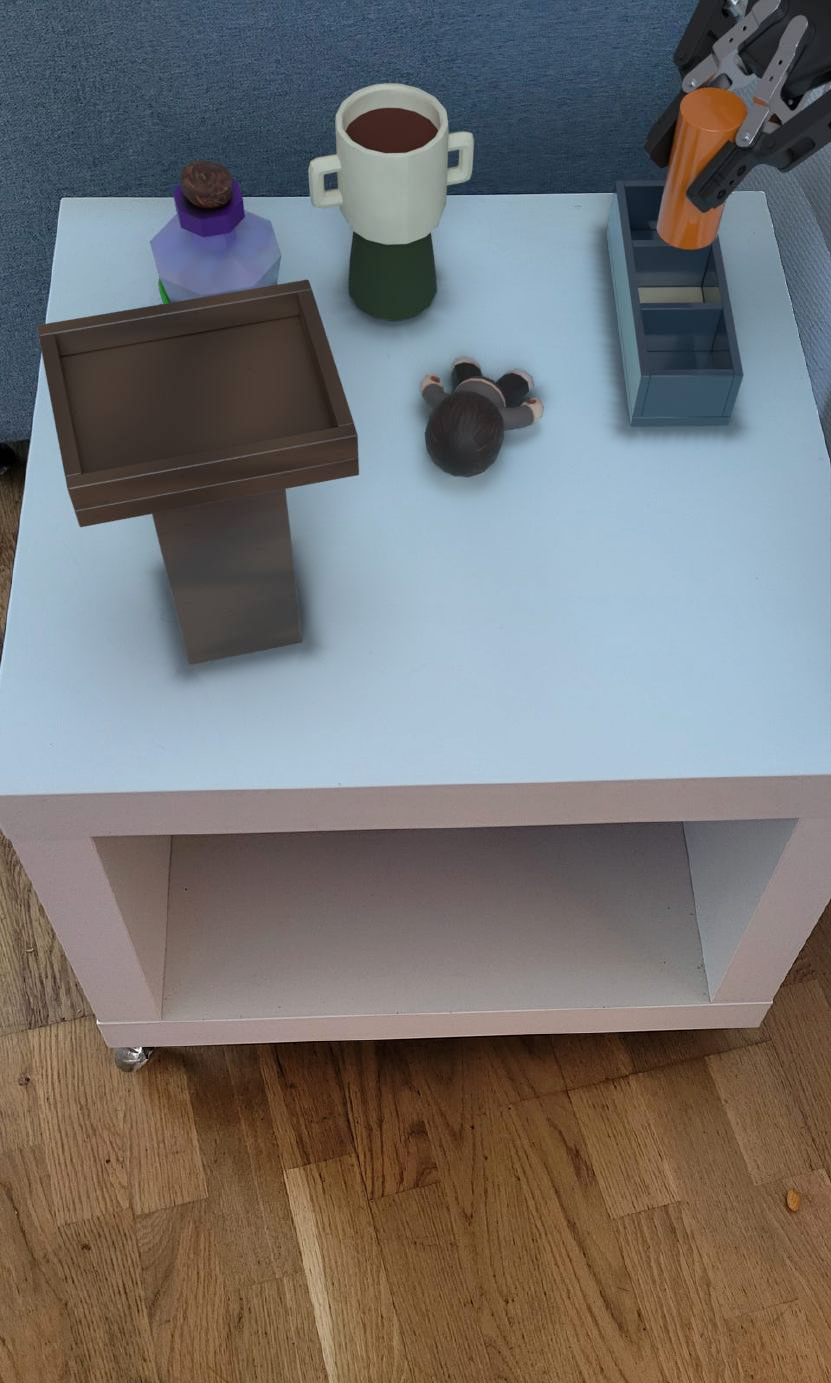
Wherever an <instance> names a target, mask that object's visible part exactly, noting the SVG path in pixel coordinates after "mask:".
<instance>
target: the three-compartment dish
mask: <svg viewBox="0 0 831 1383" xmlns="http://www.w3.org/2000/svg"><path fill="white" fill-rule="evenodd" d="M664 184H665V180H664V179H662V180H659V179H657V180H655V179H654V180H653V179H652V180H649V179H647V180H614V187H613V193H612V198H611V203H610V210H609V216H608V222H607V229H606V241H607V242H606V243H607V249H608V257H609V265H610V274H611V282H612V290H613V298H614V304H615V305H614V306H615V312H616V313H615V314H616V322H617V330H618V338H619V344H620V351H621V352H620V353H621V362H622V368H623V369H622V370H623V377H624V386H625V393H626V401H627V402H626V403H627V409H628V416H629V426H630V427H687V426H689V427H692V426H693V427H694V426H699V427H700V426H701V427H702V426H703V427H704V426H705V427H706V426H708V427H709V426H729V424H730V421H731V416H732V414H733V411H734V408H735V404H736V401H737V398H738V394H739V391H740V388H741V384H742V381H743V379H744V370H743V365H742V359H741V354H740V348H739V343H738V337H737V330H736V326H735V321H734V320H735V319H734V314H733V308H732V303H731V296H730V292H729V286H728V281H727V276H726V269H725V263H724V258H723V253H722V248H721V241H720V234H718V235H717V237H716V239H715V240H714V241H713V242H712V243H711V244H709V245H708V246H706V247H703V248H700V249H694V250H687V249H680V248H677V247H674V246H672V245H670V244H668V243H666V242H665V241H664V240H663V239H662V238H661V237H660V236H659V234H658V231H657V227H656V224H657V219H658V214H659V209H660V204H661V199H662V194H663V189H664Z"/></svg>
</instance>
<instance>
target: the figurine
mask: <svg viewBox="0 0 831 1383" xmlns="http://www.w3.org/2000/svg"><path fill="white" fill-rule="evenodd" d="M450 373H451V381H452V385H453V388H454V390H453V393H448V392H446V391H445V387H444V384H443V382H442V381H441V379H440V377H439V376H438V375H437V374H435V373H429V374H426V375H424V377H423V378H422V379H421V381H420V383H419V393H420V395H421V397H422V398H423V400H424V401H425V403H426V404H427V406H429V407H430V408H431V409H432V411H431V413H430V415H429V416H428V421H427V423H426V426H425V429H424V440H425V441H424V442H425V448H426V451H427V454H428V455H429V457H430V459H431V461H432V462H433V464H434V465H435V466H437V467H438V468H439V469H440V470H441V471H443V472H444V473H445V474H448V475H450V476H453V477H459V478H471V477H474V476H477V475H480V474H482V473H484V472H486V471H487V470H488V469H489V468H490V467H491V466H492V465H493V464H494V463H495V461H497V458H498V456H499V454H500V452H501V451H500V450H501V448H502V445H503V443H504V438H505V436H504V435H505V431H511V430H518V429H522V428H527V427H529V426H532V425H534V424H537V423H539V421H540V420H541V419H542V417H544V416H543V415H544V405H543V402H542V400H541V399H539V398H537V397H531V398H529V400H528V402H527V401H524V402H522V401H523V400H524V399H525V398H526V397H527V396H528V394H530V392H531V391H532V389H533V388H534V387H535V382H534V377H533V375H532V374H530V373H529V372H528V371H527V370H525V369H520V368H513V369H510V370H508V371H506V373H504V374H503V375H502V376H501V377H499V379H497V380H496V381H495V380H494V379H491V378H489V377H487V376H484V374H483V371H482V367H481V365H480V363H479V362H478V361H477V360H476V359H474V357H473V358H472V357H469V356H460V357H457V358H455V359H454V361H453V363H452V366H451V370H450ZM521 402H522V403H521ZM520 403H521V405H519V406H518V404H520Z"/></svg>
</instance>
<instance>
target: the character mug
mask: <svg viewBox="0 0 831 1383" xmlns="http://www.w3.org/2000/svg"><path fill="white" fill-rule="evenodd" d="M447 113H448V112H447V109H446V108H445V107H444V106H443V105H442V104H441V102H440V101H439V99H437V97H435V96H434V95H432V94H430V93H428V92H426V91H425V90H422V89H421V88H420V87H415V86H413V85H412V86H411V85H407V84H404V83H393V82H392V83H389V82H386V83H385V82H384V83H376V84H371V85H368V86H365V87H362V88H361V89H358V90H356V91H354V92H353V93H352V94H351V95H349V96H348V97H347V98H345V99H344V100H343V101H342V102H341V104H340V106H339V108H338V109H337V112H336V114H335V120H334V121H335V122H334V128H335V144H336V146H335V147H336V149H335V150H336V153H335V154H329V155H324V156H319V157H315V158H313V159H312V160H310V163H309V166H308V171H307V173H308V186H309V188H308V189H309V200H310V203H311V205H312V207H314V208H315V209H322V210H324V209H328V208H335V207H339V211H340V213H341V214H342V216H343V218H344V219H345V221H346V223H347V224H348V226H349V228H350V229H351V231H352V238H351V246H350V254H349V265H348V282H347V283H348V284H347V285H348V295H349V297H350V298H351V299H352V301H353V302H354V303H355V304H356V306H357V307H358V308H359V309H361V310H362V311H363V312H366V313H367V314H369V315H370V316H372V317H374V318H376V319H377V318H378V319H383V320H388V321H391V322H392V321H394V322H398V321H402V320H406V319H408V320H409V319H413V318H415V317H417V316H419V315H420V314H421V313H423V312H424V311H425V310H427V309H428V308H429V307H430V306H431V305H432V302H433V300H434V298H435V297H436V295H437V292H438V285H437V284H438V283H437V272H436V263H435V262H436V261H435V253H434V245H433V237H432V232H433V231H434V230H435V229H436V228H438V226H439V224H440V222H441V219H442V217H443V213H444V210H445V208H446V206H447V192H448V191H447V190H448V186H452V185H457V184H461V183H465V182H467V181H469V180H470V179H471V177H472V175H473V166H474V151H475V150H474V149H475V138H474V135H473V133H472V132H470V131H465V130H461V131H457V132H451V133H450V132H449V130H450V129H449V121H448V120H449V119H448V114H447ZM453 151H459V152H458V165H456V166H451V167H449V166H448V164H449V161H448V160H449V152H453ZM333 173H336V179H337V188H333V189H327V190H326V189H325V175H329V174H333Z"/></svg>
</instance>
